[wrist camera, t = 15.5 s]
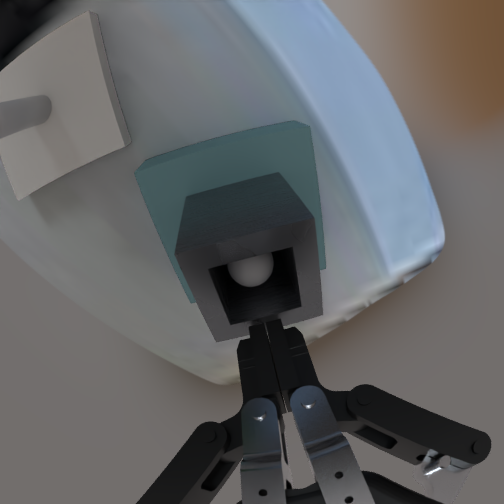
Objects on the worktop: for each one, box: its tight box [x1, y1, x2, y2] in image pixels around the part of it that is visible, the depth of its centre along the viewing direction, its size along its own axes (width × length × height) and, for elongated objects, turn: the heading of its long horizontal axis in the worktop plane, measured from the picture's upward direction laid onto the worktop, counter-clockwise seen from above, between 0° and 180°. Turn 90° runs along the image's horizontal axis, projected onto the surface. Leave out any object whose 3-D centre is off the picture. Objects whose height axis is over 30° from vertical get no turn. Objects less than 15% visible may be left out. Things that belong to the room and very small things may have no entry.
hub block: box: [134, 121, 326, 303], centre depth 16 cm, size 10×10×8 cm
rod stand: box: [0, 10, 132, 201], centre depth 10 cm, size 10×10×6 cm
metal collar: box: [174, 172, 323, 342], centre depth 14 cm, size 5×5×6 cm
